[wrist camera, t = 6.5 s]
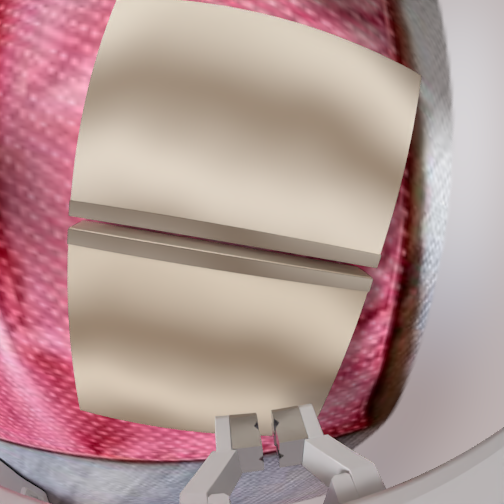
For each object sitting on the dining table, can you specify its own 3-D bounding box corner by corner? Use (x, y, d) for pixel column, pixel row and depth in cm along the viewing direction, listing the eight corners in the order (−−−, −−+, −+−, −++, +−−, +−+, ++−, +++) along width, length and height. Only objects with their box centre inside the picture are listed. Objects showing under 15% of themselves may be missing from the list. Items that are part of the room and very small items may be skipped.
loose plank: (301, 416, 17) (309, 435, 15) (87, 391, 14) (79, 410, 13) (357, 266, 15) (373, 278, 13) (83, 220, 12) (68, 227, 10)
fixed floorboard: (359, 254, 14) (377, 268, 13) (85, 206, 12) (68, 215, 10) (401, 80, 12) (422, 75, 10) (127, 13, 9) (116, -3, 8)
